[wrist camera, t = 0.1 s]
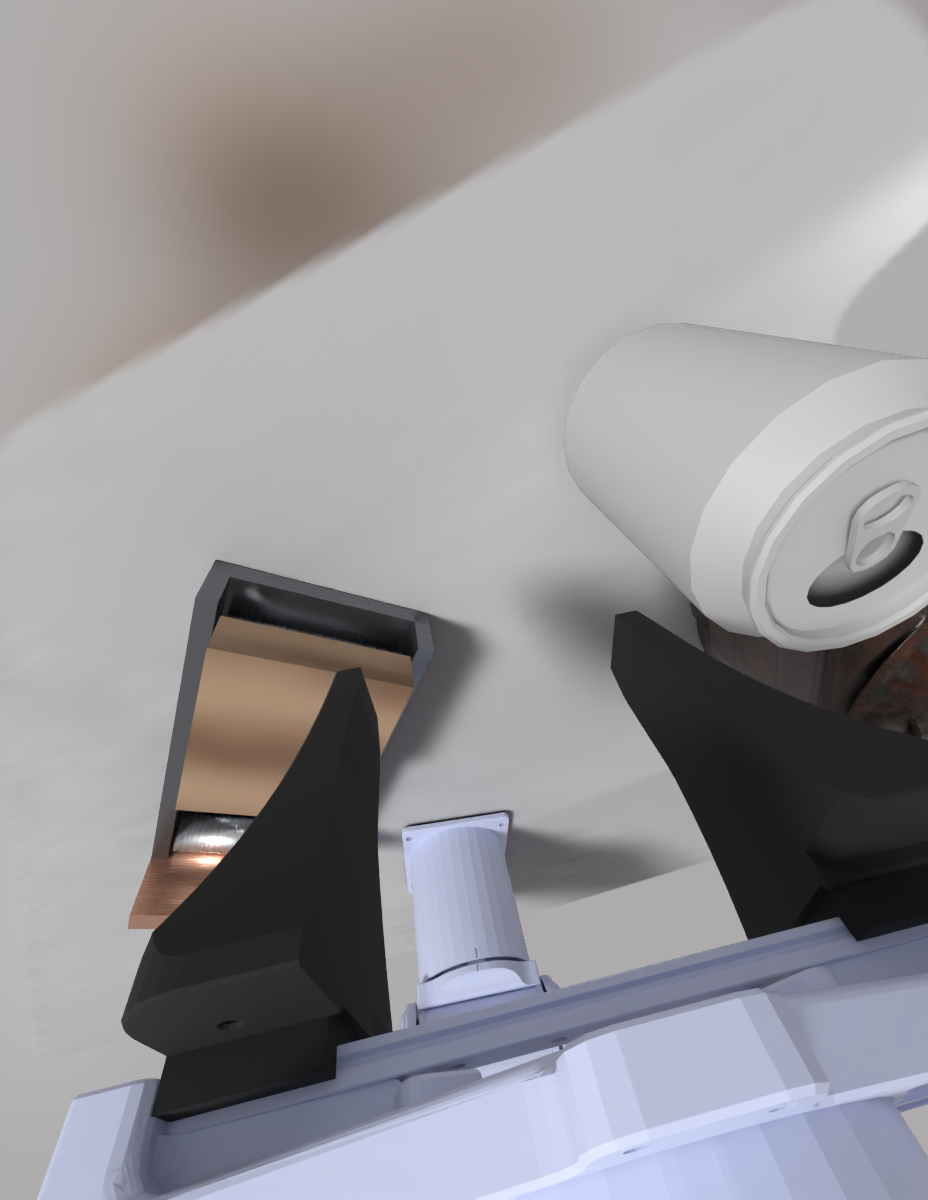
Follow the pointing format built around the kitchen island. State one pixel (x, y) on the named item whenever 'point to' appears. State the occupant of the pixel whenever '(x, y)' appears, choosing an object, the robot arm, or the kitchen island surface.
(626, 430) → the can
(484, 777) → the kitchen island surface
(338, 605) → the roller bed
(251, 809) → the tan flat block
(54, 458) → the kitchen island surface
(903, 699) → the manual coffee grinder
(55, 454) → the kitchen island surface
